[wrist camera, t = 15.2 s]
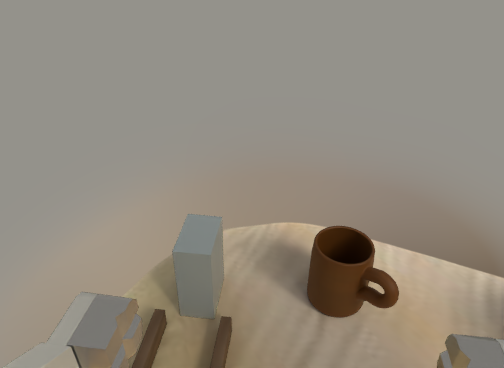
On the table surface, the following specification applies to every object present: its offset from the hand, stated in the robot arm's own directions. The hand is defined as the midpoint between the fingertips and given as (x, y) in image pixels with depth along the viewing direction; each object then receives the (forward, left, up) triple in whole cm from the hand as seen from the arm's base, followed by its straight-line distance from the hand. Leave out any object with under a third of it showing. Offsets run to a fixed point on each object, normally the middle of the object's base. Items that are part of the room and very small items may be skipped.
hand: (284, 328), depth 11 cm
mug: (-9, -30, -33) cm, 45 cm away
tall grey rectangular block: (+10, -29, -33) cm, 45 cm away
